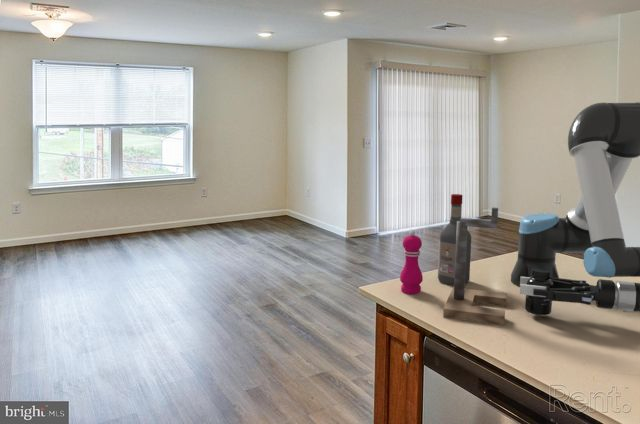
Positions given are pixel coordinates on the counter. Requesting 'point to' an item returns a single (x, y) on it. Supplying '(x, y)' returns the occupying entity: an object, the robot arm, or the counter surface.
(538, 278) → the supplement bottle
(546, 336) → the counter surface
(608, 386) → the counter surface
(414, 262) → the pepper mill
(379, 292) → the counter surface
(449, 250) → the liquor
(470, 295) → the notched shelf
